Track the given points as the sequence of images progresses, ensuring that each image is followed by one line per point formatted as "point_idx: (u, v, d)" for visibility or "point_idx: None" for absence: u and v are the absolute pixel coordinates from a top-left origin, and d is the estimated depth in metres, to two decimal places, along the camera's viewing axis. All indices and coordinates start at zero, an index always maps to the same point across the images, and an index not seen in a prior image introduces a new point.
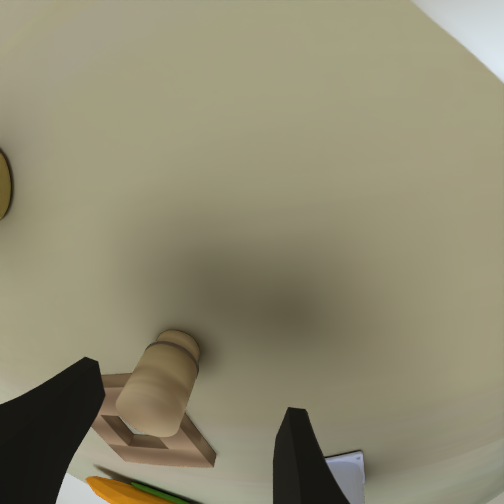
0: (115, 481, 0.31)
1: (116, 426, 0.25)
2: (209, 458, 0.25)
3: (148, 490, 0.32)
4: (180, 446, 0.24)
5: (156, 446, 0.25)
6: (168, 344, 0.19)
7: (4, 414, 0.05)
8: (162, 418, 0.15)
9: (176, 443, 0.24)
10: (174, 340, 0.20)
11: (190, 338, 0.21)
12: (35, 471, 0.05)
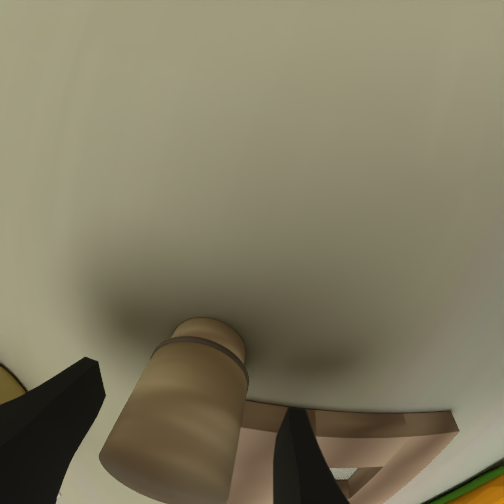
0: None
1: None
2: (442, 427, 0.12)
3: (442, 501, 0.18)
4: (388, 453, 0.13)
5: (371, 475, 0.14)
6: (153, 353, 0.11)
7: (4, 414, 0.05)
8: (160, 470, 0.06)
9: (378, 455, 0.13)
10: None
11: (190, 321, 0.12)
12: (35, 471, 0.05)
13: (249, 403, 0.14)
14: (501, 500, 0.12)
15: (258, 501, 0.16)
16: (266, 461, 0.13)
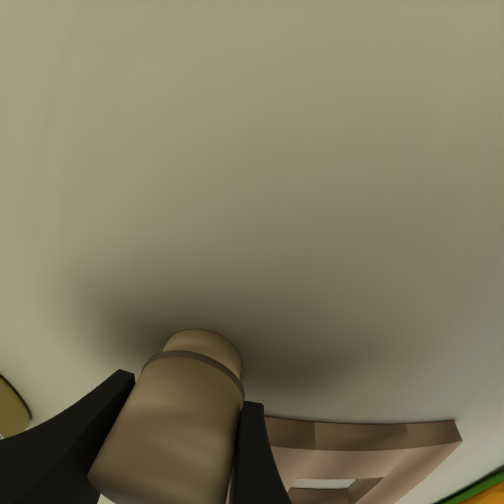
0: None
1: (312, 501, 0.15)
2: (445, 437, 0.12)
3: None
4: (389, 464, 0.12)
5: (371, 485, 0.13)
6: (144, 367, 0.10)
7: (42, 439, 0.05)
8: (150, 494, 0.05)
9: (379, 466, 0.12)
10: None
11: (182, 333, 0.12)
12: (75, 494, 0.05)
13: None
14: None
15: None
16: None
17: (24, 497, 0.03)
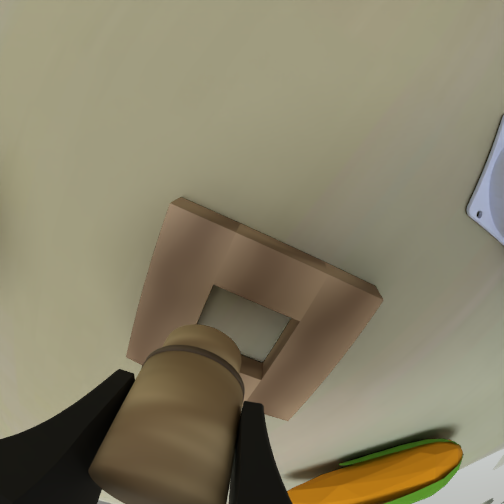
0: (318, 477, 0.24)
1: None
2: (364, 288, 0.16)
3: (365, 458, 0.23)
4: (305, 295, 0.16)
5: (286, 339, 0.18)
6: (143, 364, 0.10)
7: (41, 438, 0.05)
8: (148, 487, 0.05)
9: (295, 293, 0.16)
10: None
11: (180, 329, 0.12)
12: (75, 494, 0.05)
13: (185, 200, 0.17)
14: (432, 470, 0.18)
15: None
16: (184, 267, 0.17)
17: (24, 497, 0.03)
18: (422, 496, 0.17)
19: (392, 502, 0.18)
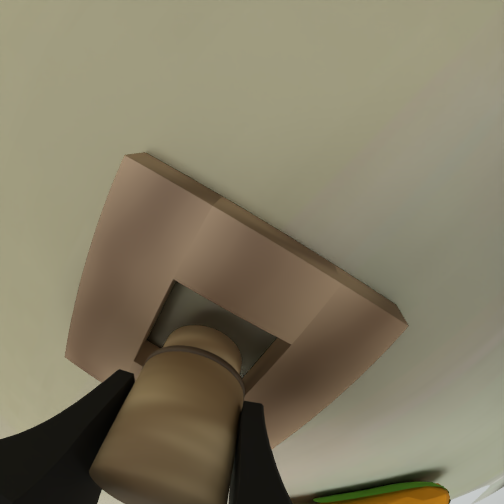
0: None
1: None
2: (386, 307, 0.11)
3: (345, 497, 0.18)
4: (303, 309, 0.11)
5: (269, 365, 0.13)
6: (144, 365, 0.10)
7: (41, 438, 0.05)
8: (149, 488, 0.05)
9: (289, 306, 0.11)
10: None
11: (180, 329, 0.12)
12: (75, 494, 0.05)
13: (150, 156, 0.11)
14: None
15: (110, 363, 0.13)
16: (135, 250, 0.11)
17: (24, 498, 0.03)
18: None
19: None
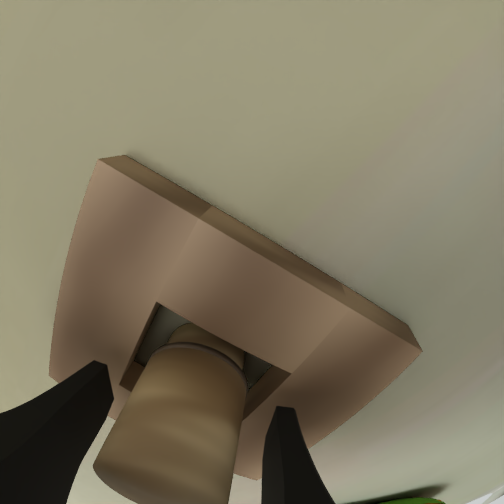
0: None
1: None
2: (398, 331, 0.10)
3: None
4: (306, 336, 0.10)
5: (266, 394, 0.11)
6: (148, 361, 0.10)
7: (13, 420, 0.05)
8: (153, 481, 0.06)
9: (289, 333, 0.10)
10: None
11: (184, 326, 0.12)
12: (45, 477, 0.05)
13: (130, 159, 0.10)
14: None
15: None
16: (113, 268, 0.09)
17: None
18: None
19: None
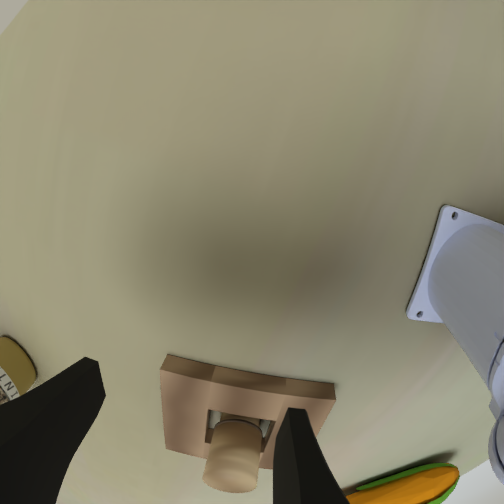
0: None
1: None
2: (319, 394, 0.20)
3: (377, 483, 0.26)
4: (273, 407, 0.20)
5: (271, 429, 0.22)
6: (214, 430, 0.22)
7: (4, 414, 0.05)
8: (224, 477, 0.17)
9: (265, 407, 0.20)
10: None
11: None
12: (35, 471, 0.05)
13: (171, 356, 0.21)
14: (431, 491, 0.21)
15: (192, 445, 0.23)
16: (185, 402, 0.21)
17: None
18: None
19: None
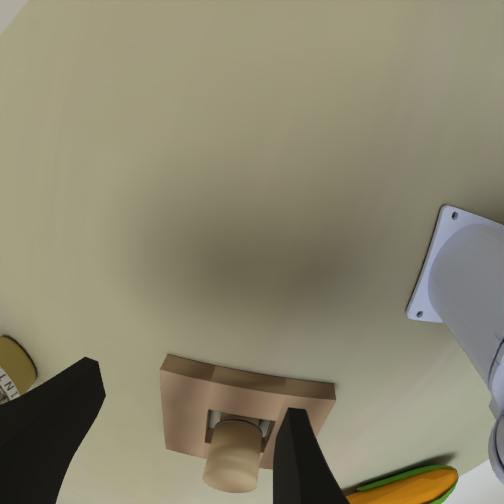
0: None
1: None
2: (319, 394, 0.20)
3: (377, 484, 0.26)
4: (273, 407, 0.20)
5: (272, 429, 0.22)
6: (214, 430, 0.22)
7: (4, 414, 0.05)
8: (224, 477, 0.17)
9: (265, 407, 0.20)
10: None
11: None
12: (35, 471, 0.05)
13: (171, 356, 0.21)
14: (431, 492, 0.21)
15: (192, 446, 0.23)
16: (185, 402, 0.21)
17: None
18: None
19: None
